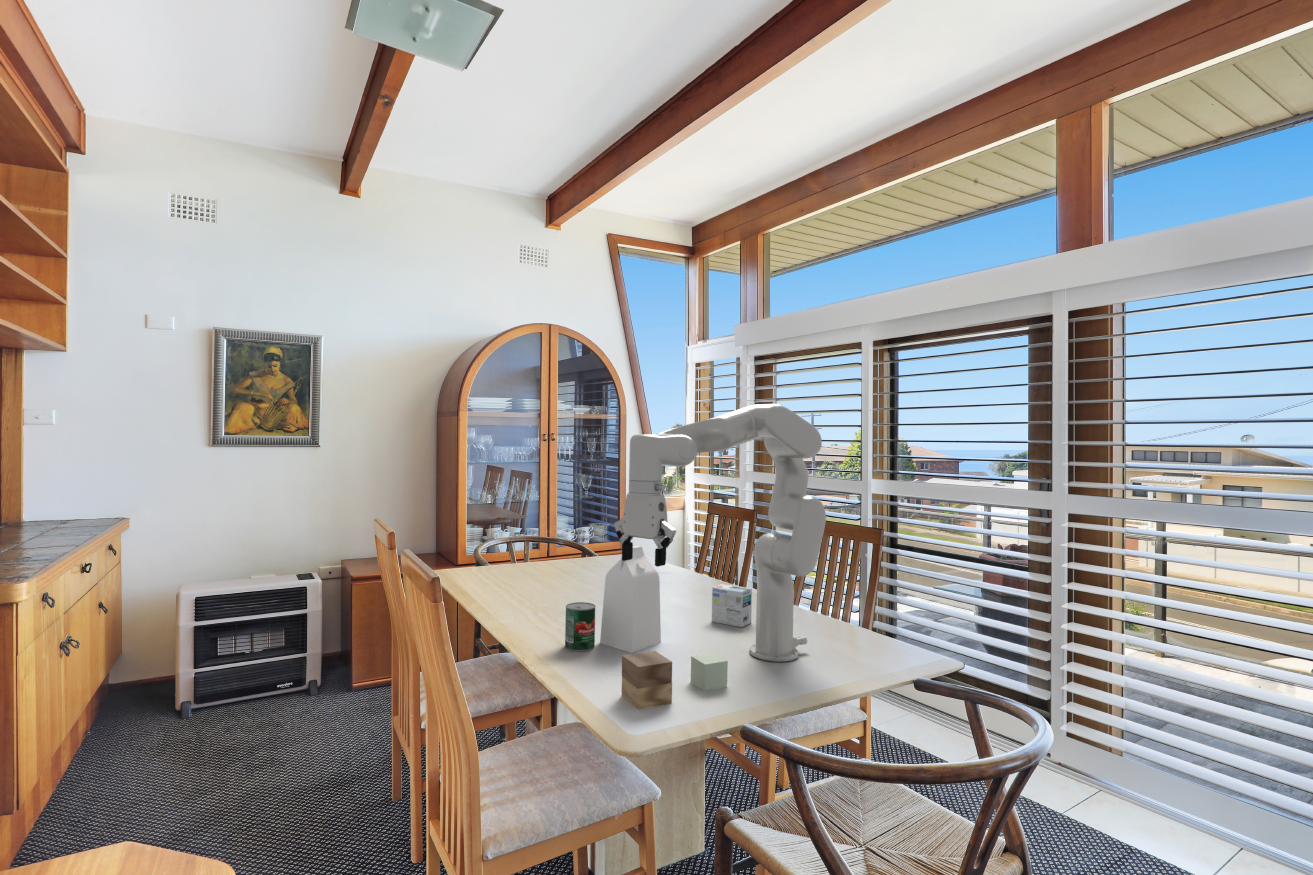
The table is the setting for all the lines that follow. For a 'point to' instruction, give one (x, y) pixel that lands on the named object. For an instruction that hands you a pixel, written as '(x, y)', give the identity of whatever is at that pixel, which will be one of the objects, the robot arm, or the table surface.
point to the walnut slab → (646, 669)
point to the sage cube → (709, 671)
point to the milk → (631, 604)
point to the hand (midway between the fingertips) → (643, 562)
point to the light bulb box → (731, 605)
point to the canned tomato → (580, 626)
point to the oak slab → (646, 695)
